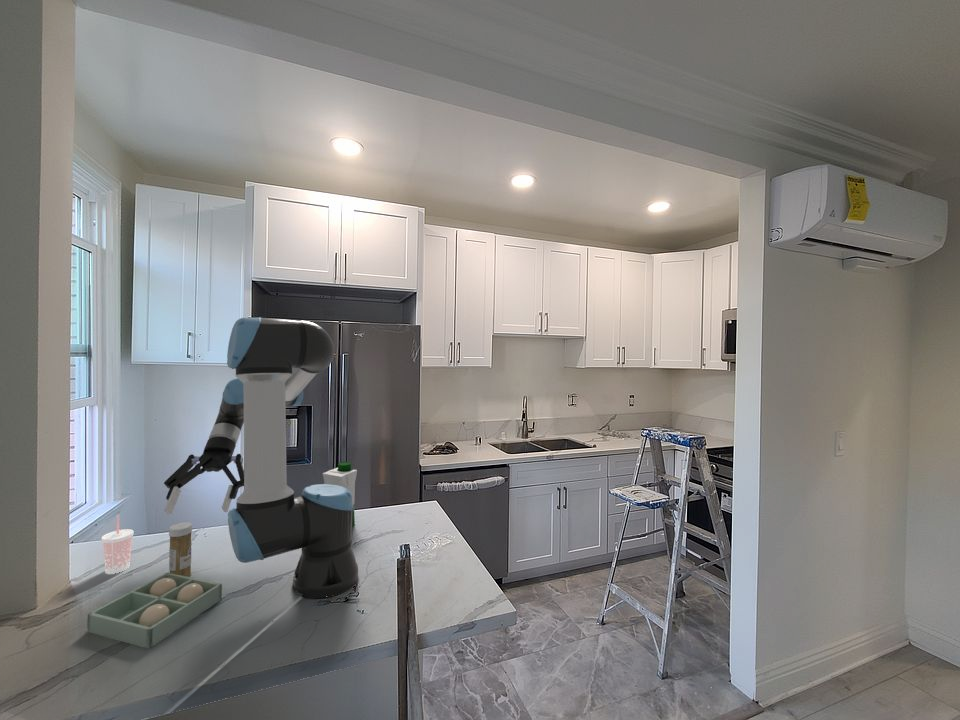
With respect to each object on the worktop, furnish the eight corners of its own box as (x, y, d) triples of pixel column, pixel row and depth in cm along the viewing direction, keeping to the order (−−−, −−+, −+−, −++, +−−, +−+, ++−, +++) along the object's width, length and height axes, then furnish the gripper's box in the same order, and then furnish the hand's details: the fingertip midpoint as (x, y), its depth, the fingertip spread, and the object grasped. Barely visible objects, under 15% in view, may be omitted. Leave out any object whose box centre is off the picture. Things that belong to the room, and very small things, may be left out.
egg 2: (175, 624, 83) (175, 601, 83) (151, 640, 78) (151, 615, 78) (157, 619, 84) (157, 596, 84) (132, 635, 79) (132, 611, 79)
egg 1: (181, 596, 92) (182, 575, 92) (160, 609, 87) (160, 587, 87) (165, 592, 93) (165, 571, 93) (143, 605, 89) (143, 583, 88)
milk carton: (358, 523, 134) (360, 463, 134) (339, 534, 126) (341, 470, 125) (337, 518, 138) (339, 460, 137) (317, 529, 129) (319, 466, 129)
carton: (221, 601, 91) (221, 583, 91) (148, 651, 76) (149, 629, 76) (166, 589, 95) (167, 572, 95) (87, 634, 80) (87, 614, 80)
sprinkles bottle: (191, 581, 99) (191, 526, 99) (167, 587, 96) (168, 530, 96) (191, 572, 103) (192, 520, 102) (169, 577, 100) (169, 523, 100)
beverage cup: (138, 561, 107) (138, 509, 107) (125, 574, 101) (126, 518, 101) (109, 564, 105) (110, 511, 105) (95, 577, 99) (95, 520, 99)
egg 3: (208, 602, 90) (209, 580, 90) (188, 615, 86) (188, 593, 85) (191, 598, 91) (192, 577, 91) (170, 611, 87) (171, 589, 87)
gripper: (269, 448, 127) (251, 514, 113) (180, 449, 122) (149, 518, 108) (264, 434, 122) (243, 503, 107) (170, 435, 117) (136, 506, 103)
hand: (196, 511), depth 108 cm, fingers open, 13 cm apart
